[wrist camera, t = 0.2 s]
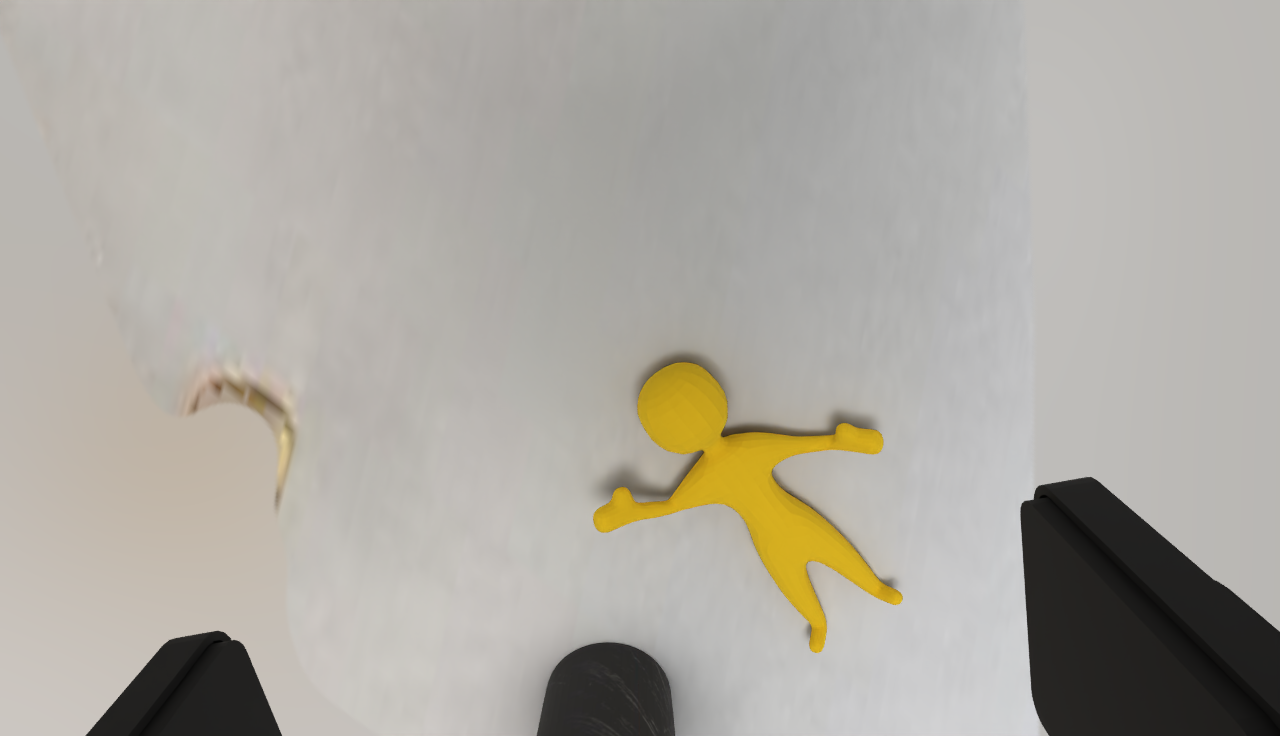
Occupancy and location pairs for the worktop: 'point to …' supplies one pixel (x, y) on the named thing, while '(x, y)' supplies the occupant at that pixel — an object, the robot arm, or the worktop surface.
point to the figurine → (747, 486)
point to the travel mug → (607, 695)
